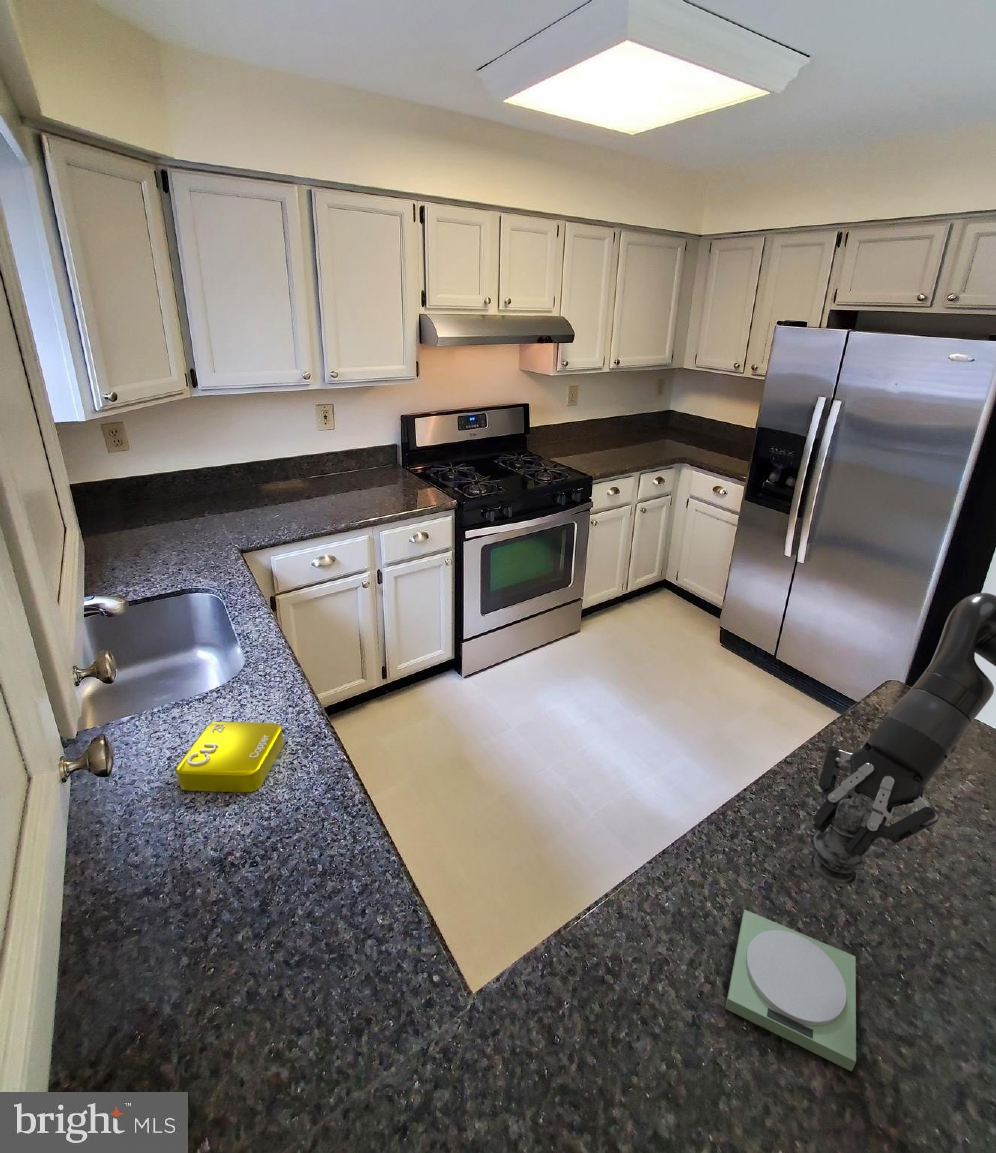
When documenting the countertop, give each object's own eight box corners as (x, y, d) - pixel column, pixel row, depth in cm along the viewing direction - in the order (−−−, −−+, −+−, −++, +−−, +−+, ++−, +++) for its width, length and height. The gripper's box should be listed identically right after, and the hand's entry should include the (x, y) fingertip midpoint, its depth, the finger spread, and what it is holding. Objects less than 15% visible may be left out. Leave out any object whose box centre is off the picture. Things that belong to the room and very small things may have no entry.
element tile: (258, 794, 107) (254, 773, 105) (175, 791, 107) (170, 770, 105) (287, 739, 121) (284, 720, 119) (214, 737, 121) (209, 718, 119)
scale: (852, 966, 80) (857, 952, 79) (851, 1072, 69) (858, 1057, 67) (741, 918, 86) (745, 905, 85) (725, 1008, 75) (728, 994, 74)
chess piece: (862, 893, 74) (888, 821, 69) (810, 880, 76) (832, 808, 71) (854, 856, 79) (877, 787, 75) (805, 844, 81) (825, 775, 76)
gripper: (855, 693, 78) (774, 795, 78) (975, 757, 67) (881, 878, 67) (870, 715, 83) (793, 812, 82) (985, 779, 71) (897, 892, 71)
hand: (833, 841), depth 74 cm, fingers closed on chess piece, 3 cm apart
